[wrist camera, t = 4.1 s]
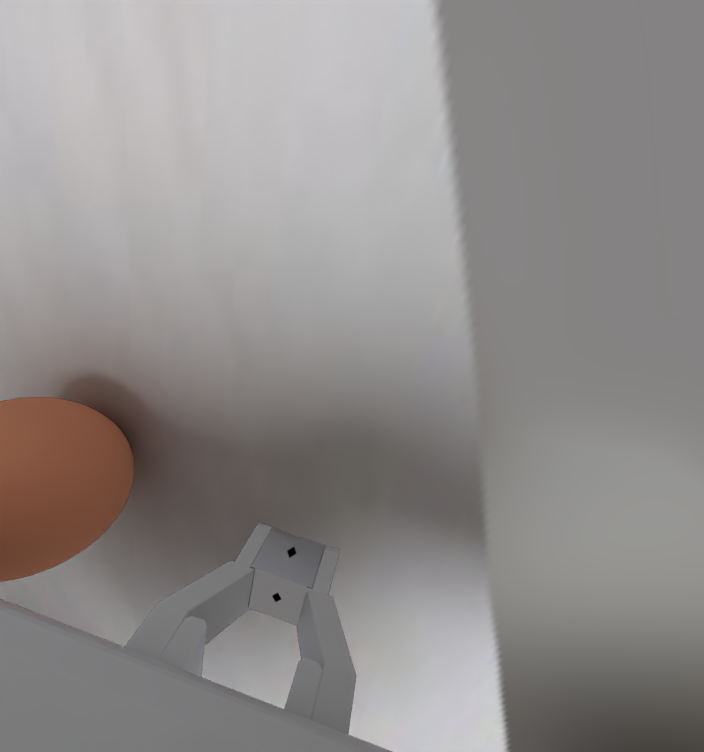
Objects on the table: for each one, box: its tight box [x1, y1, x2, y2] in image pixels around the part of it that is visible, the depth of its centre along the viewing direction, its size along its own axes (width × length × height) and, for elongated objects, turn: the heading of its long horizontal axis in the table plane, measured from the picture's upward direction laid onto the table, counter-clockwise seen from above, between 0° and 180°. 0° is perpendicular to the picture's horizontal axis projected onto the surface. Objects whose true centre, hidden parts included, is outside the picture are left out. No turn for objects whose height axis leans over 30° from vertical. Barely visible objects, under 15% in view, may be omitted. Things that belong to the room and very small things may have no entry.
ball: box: [0, 397, 134, 582], centre depth 11 cm, size 6×6×6 cm
